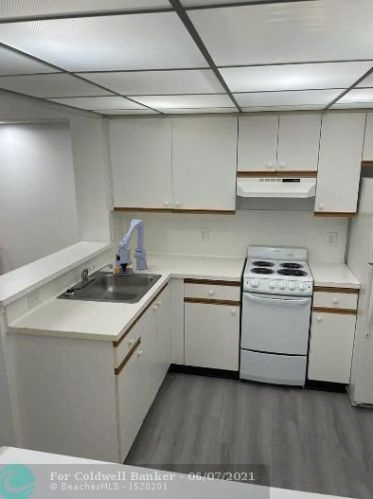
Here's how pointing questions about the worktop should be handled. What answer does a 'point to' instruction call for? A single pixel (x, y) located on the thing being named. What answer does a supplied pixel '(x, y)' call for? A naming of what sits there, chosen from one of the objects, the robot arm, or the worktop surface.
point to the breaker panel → (128, 272)
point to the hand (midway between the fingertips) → (124, 272)
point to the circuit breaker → (127, 256)
